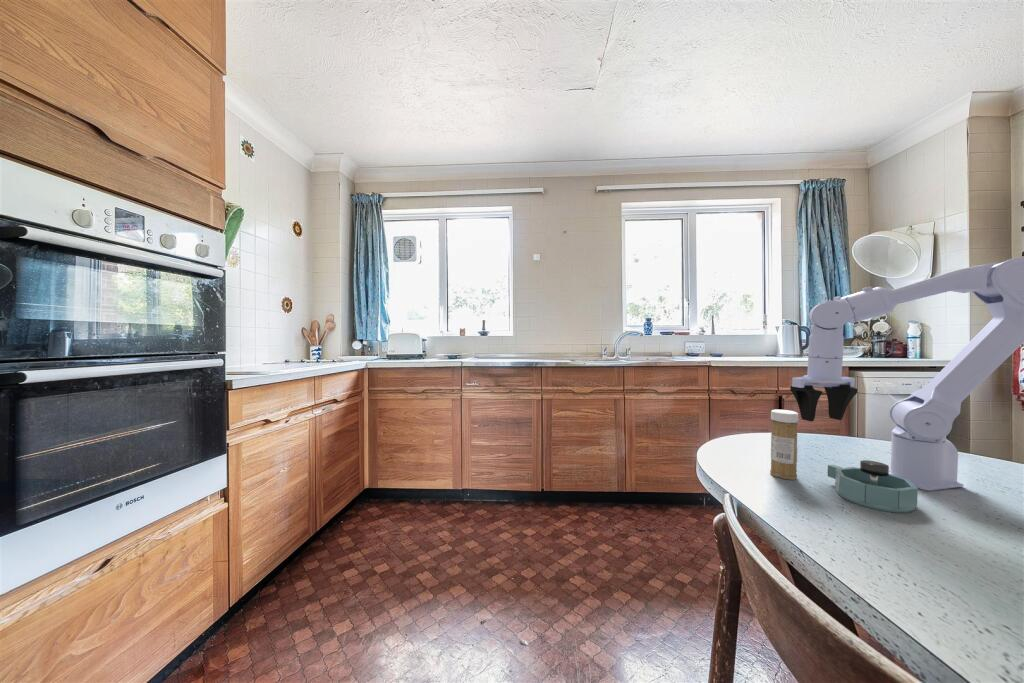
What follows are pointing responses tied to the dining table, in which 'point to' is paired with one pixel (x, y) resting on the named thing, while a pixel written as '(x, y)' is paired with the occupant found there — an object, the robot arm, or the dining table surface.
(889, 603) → the dining table surface
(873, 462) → the doorknob
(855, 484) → the teal tabbed tray
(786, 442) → the sprinkles bottle
